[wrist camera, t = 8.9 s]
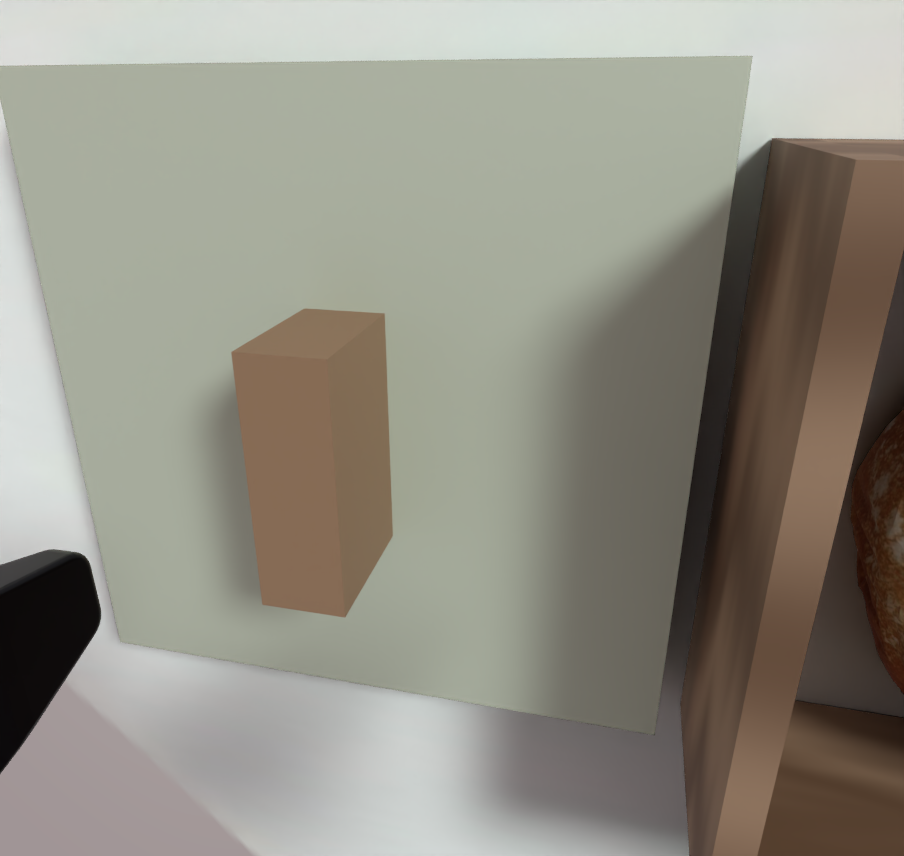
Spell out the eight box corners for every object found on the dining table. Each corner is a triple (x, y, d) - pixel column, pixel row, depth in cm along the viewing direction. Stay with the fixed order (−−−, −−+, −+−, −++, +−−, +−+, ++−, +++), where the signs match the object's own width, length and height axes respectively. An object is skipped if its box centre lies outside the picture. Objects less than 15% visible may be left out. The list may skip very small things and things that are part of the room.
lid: (653, 684, 22) (656, 850, 17) (156, 604, 25) (40, 723, 21) (740, 61, 15) (784, 41, 10) (54, 69, 19) (-154, 56, 14)
